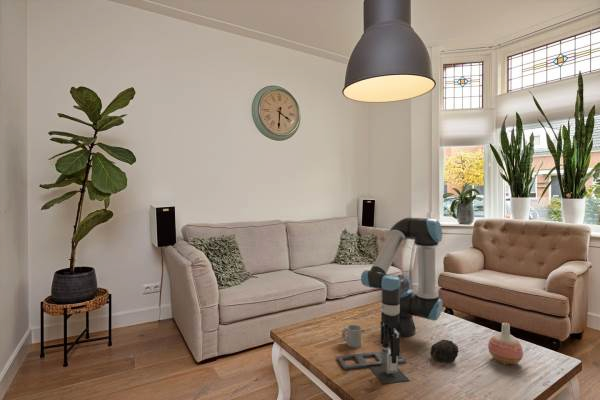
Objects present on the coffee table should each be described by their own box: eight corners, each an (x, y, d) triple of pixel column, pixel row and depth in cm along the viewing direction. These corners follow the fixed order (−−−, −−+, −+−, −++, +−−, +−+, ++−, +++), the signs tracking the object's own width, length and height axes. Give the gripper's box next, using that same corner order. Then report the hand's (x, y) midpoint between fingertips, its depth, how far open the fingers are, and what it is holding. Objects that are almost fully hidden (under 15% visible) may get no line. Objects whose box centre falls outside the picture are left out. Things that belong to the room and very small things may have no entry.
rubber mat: (395, 365, 146) (395, 364, 146) (409, 380, 135) (409, 379, 135) (370, 368, 144) (370, 367, 144) (382, 384, 132) (382, 383, 132)
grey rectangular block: (391, 366, 142) (392, 348, 142) (397, 372, 137) (397, 354, 137) (381, 367, 141) (381, 349, 141) (386, 374, 136) (387, 355, 136)
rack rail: (395, 352, 159) (395, 349, 158) (405, 363, 149) (405, 360, 149) (336, 358, 152) (336, 356, 152) (343, 370, 142) (344, 367, 142)
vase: (511, 372, 142) (512, 332, 141) (481, 358, 154) (482, 321, 153) (529, 365, 148) (530, 326, 147) (498, 351, 160) (499, 316, 159)
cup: (360, 349, 161) (360, 331, 161) (340, 346, 165) (340, 328, 164) (362, 342, 168) (362, 325, 168) (343, 339, 171) (343, 323, 171)
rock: (425, 355, 154) (429, 335, 154) (442, 353, 159) (446, 334, 158) (441, 367, 145) (446, 346, 144) (459, 366, 150) (464, 345, 149)
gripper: (373, 305, 147) (372, 356, 147) (392, 321, 129) (391, 379, 130) (388, 304, 148) (387, 354, 149) (409, 320, 131) (408, 376, 131)
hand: (389, 365), depth 139 cm, fingers closed on grey rectangular block, 5 cm apart
